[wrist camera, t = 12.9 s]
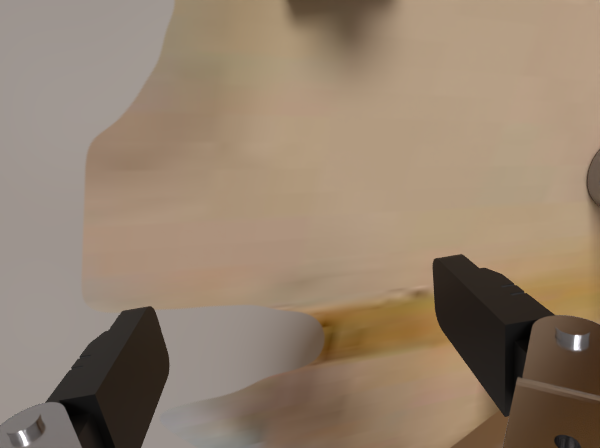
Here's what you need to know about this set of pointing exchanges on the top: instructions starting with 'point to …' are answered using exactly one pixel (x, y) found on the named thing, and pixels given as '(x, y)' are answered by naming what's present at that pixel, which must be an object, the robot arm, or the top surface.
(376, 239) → the top surface
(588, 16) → the top surface
